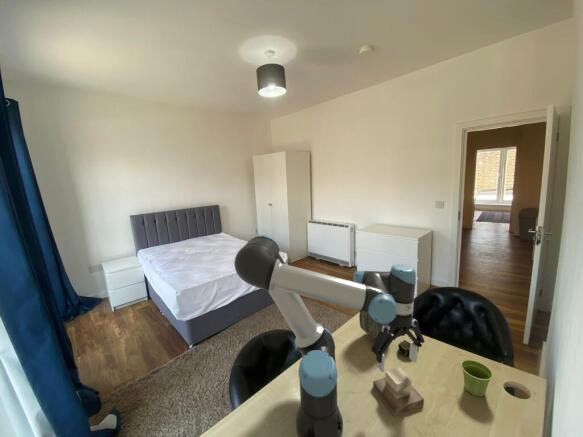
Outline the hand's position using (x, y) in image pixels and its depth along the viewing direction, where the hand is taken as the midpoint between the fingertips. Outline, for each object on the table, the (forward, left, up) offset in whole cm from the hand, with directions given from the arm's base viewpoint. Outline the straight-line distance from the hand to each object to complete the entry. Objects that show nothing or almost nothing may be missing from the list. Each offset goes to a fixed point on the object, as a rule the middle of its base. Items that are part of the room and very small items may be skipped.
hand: (396, 364), depth 89 cm
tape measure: (+20, +17, -13) cm, 29 cm away
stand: (0, 0, -13) cm, 13 cm away
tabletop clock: (+11, +29, -13) cm, 34 cm away
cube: (0, 0, -10) cm, 10 cm away
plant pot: (+28, -7, -13) cm, 32 cm away
